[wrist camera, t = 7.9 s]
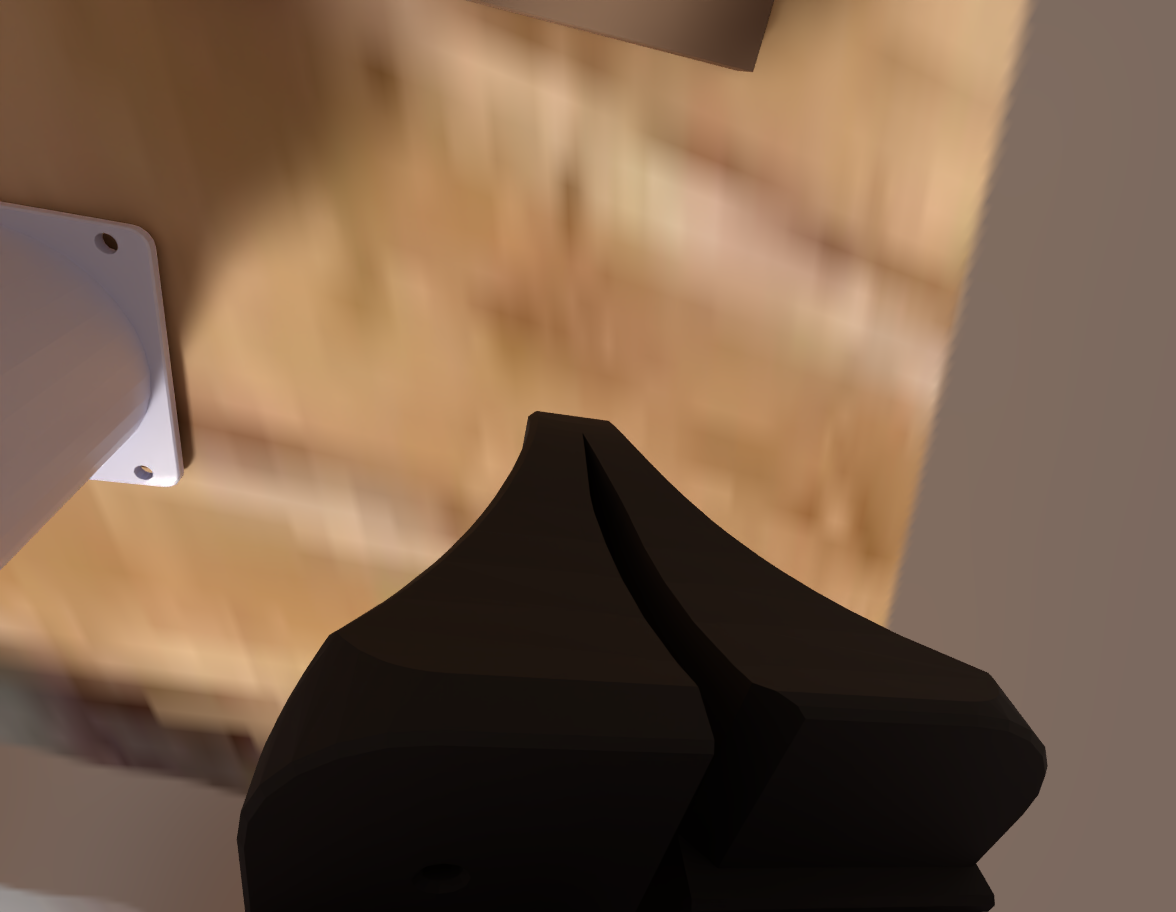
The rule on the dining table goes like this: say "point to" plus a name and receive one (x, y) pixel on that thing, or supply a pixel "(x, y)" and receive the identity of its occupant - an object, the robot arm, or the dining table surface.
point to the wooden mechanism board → (663, 24)
